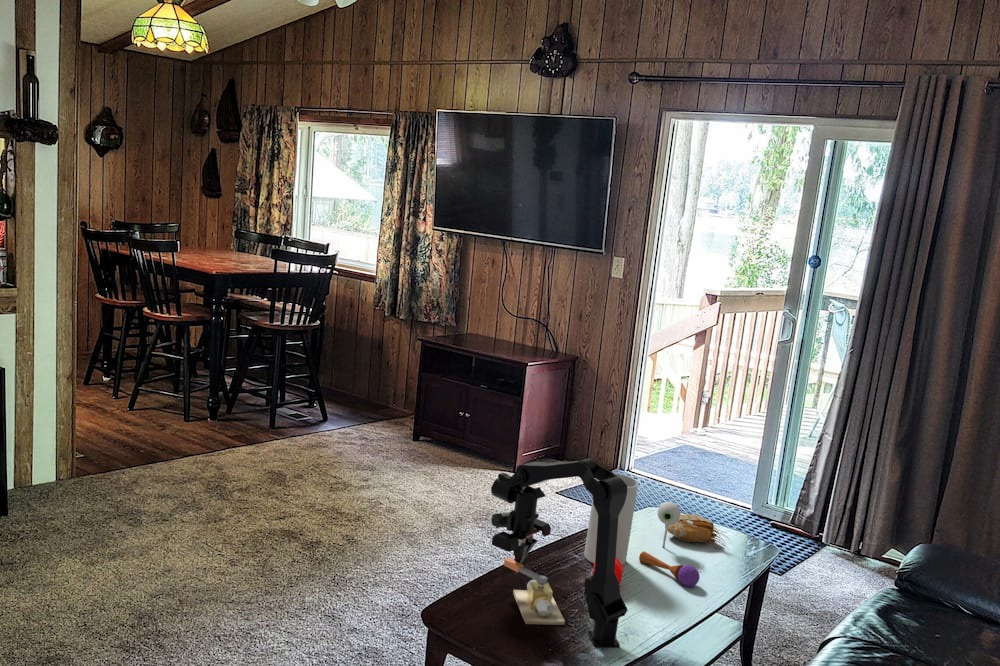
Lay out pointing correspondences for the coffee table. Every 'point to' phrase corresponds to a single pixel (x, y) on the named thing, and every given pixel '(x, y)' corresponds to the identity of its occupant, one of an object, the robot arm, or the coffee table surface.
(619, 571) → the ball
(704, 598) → the coffee table surface
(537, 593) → the valve
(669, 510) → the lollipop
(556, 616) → the valve board
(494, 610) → the coffee table surface
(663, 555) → the coffee table surface
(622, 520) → the cylinder vase
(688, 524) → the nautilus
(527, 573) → the valve lever
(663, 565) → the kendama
